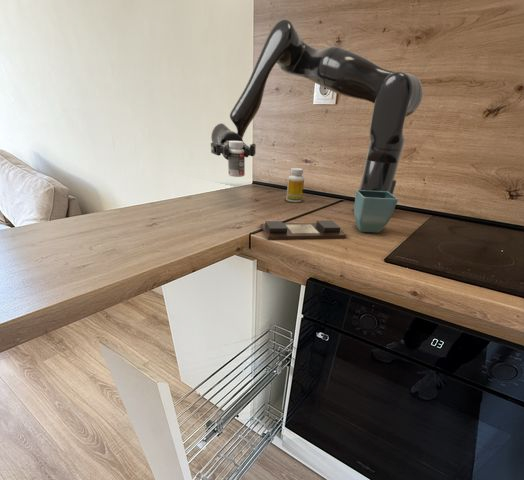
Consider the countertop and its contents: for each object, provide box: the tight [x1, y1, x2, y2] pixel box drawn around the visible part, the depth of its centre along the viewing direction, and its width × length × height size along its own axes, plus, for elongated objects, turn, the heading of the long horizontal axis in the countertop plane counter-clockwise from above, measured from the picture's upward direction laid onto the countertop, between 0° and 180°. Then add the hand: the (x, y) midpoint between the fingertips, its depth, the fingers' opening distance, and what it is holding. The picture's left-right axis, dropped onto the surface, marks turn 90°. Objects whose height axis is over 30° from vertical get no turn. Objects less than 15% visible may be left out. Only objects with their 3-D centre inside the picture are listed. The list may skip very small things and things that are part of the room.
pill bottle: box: [227, 141, 246, 178], centre depth 87 cm, size 5×5×8 cm
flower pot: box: [353, 189, 399, 234], centre depth 80 cm, size 9×9×9 cm
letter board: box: [260, 220, 347, 240], centre depth 78 cm, size 20×10×2 cm, turn 101°
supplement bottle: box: [285, 167, 305, 203], centre depth 102 cm, size 5×5×10 cm
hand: (237, 152), depth 84 cm, fingers closed on pill bottle, 4 cm apart
